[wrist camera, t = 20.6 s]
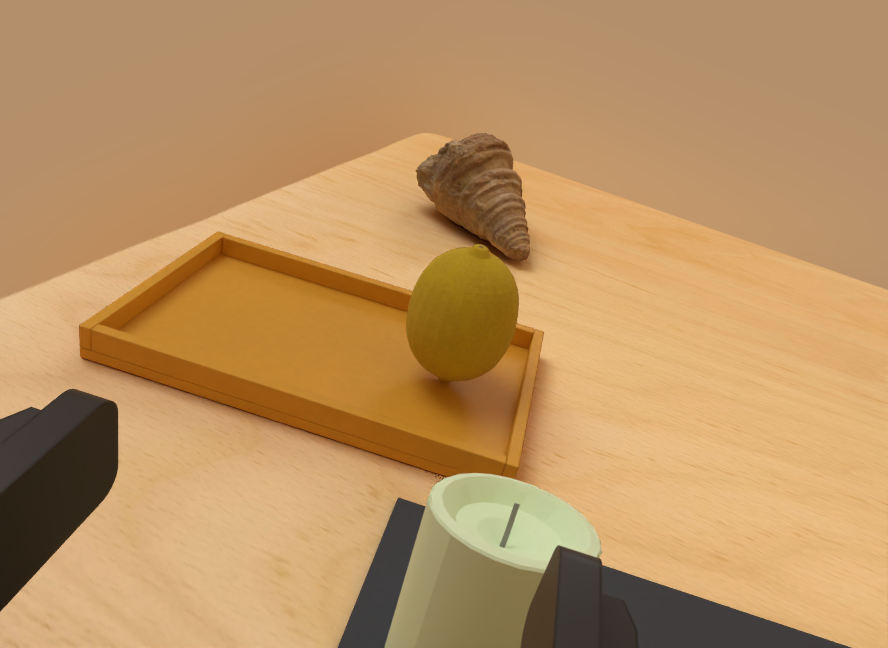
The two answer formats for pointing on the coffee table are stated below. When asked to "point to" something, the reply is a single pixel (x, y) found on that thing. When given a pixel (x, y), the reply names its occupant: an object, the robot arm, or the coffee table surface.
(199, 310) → the yellow tray
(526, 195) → the coffee table surface
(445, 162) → the seashell
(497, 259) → the lemon
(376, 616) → the grey mat
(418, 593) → the candle
